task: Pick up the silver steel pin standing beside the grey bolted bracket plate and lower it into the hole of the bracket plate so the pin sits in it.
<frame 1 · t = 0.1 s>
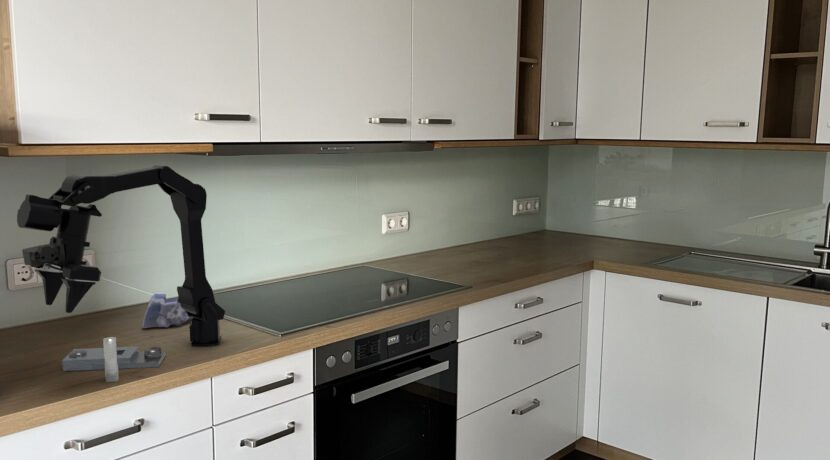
hand: (58, 308, 145), 15 cm above the worktop, tool pointing down, fingers open, 9 cm apart
mineral: (169, 325, 189), on the worktop
pin: (112, 380, 147), on the worktop
grey bolted bracket plate: (116, 363, 158), on the worktop
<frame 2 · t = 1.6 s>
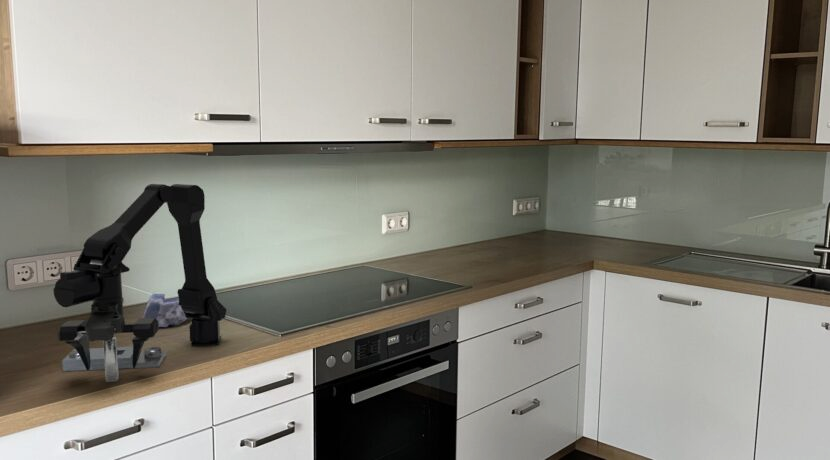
hand: (111, 368, 147), 2 cm above the worktop, tool pointing down, fingers open, 9 cm apart
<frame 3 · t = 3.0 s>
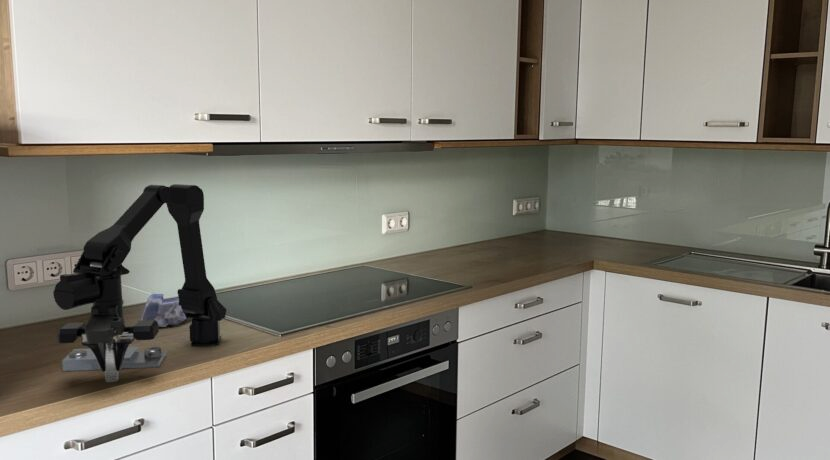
hand: (111, 370, 147), 2 cm above the worktop, tool pointing down, fingers closed on pin, 2 cm apart
pin: (112, 380, 147), on the worktop, touching gripper
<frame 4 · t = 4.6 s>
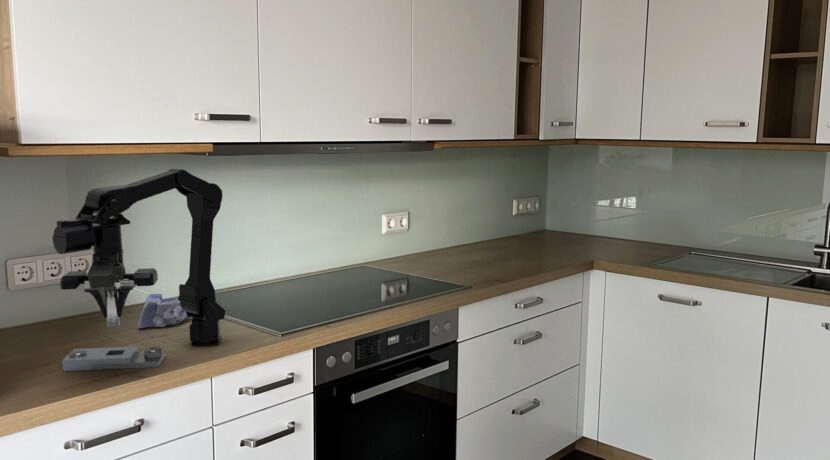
hand: (113, 317, 153), 12 cm above the worktop, tool pointing down, fingers closed on pin, 2 cm apart
pin: (113, 326, 153), point 10 cm above the worktop, touching gripper
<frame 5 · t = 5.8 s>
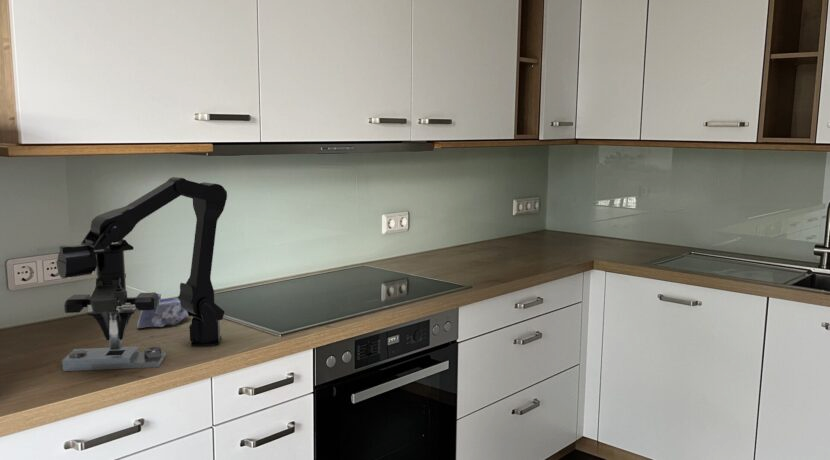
hand: (115, 339, 157), 5 cm above the worktop, tool pointing down, fingers closed on pin, 2 cm apart
pin: (115, 348, 157), point 3 cm above the worktop, touching gripper
when the fingers open (3 cm above the worktop, at t = 6.7 s): pin drops 1 cm, resting in grey bolted bracket plate.
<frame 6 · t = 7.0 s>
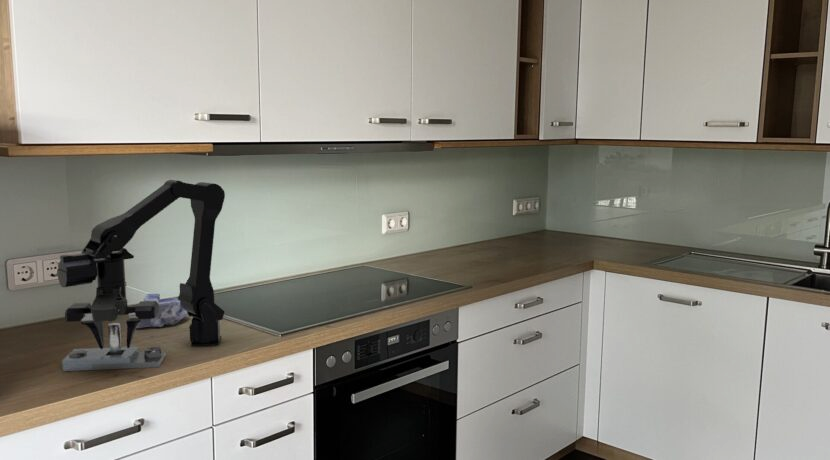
hand: (115, 348, 157), 3 cm above the worktop, tool pointing down, fingers open, 5 cm apart
pin: (116, 363, 158), resting in grey bolted bracket plate
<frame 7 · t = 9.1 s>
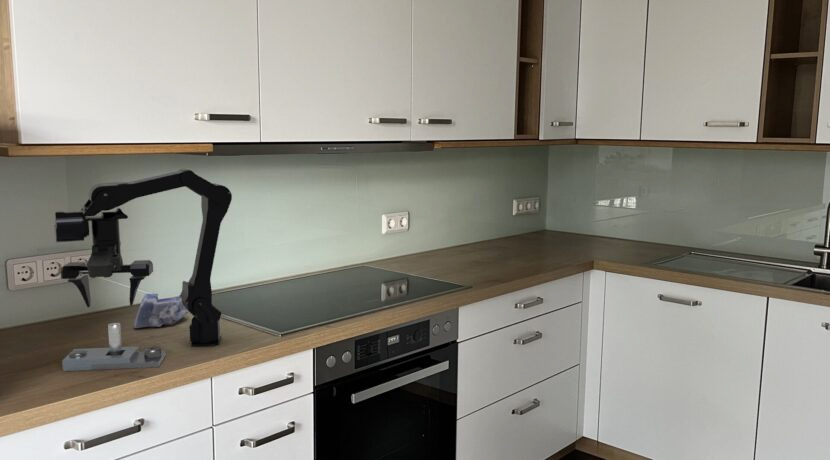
hand: (110, 306, 161), 12 cm above the worktop, tool pointing down, fingers open, 9 cm apart
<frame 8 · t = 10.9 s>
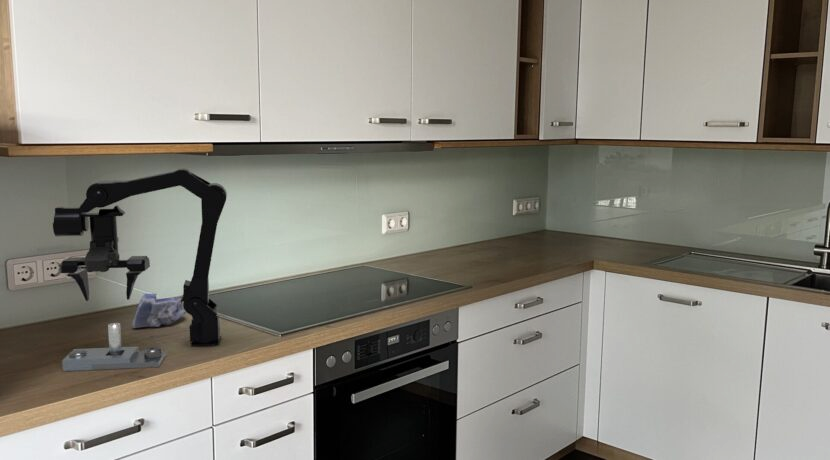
hand: (108, 299, 166), 12 cm above the worktop, tool pointing down, fingers open, 9 cm apart
at the end: pin 0.0 cm off-centre on the grey bolted bracket plate, point 0.0 cm above the grey bolted bracket plate's base; pin tilted 0°; the gripper is holding nothing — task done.
